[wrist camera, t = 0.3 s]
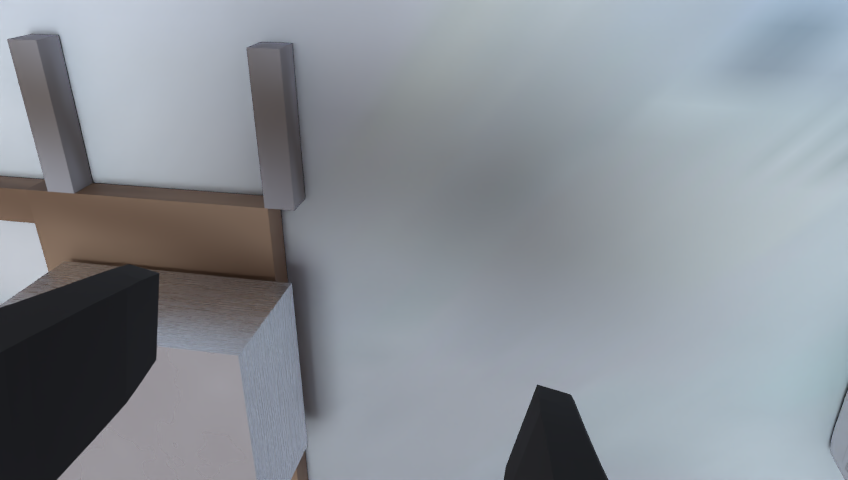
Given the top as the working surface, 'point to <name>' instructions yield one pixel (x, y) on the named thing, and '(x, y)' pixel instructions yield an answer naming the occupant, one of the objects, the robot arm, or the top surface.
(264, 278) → the board
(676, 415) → the top surface
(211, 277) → the housing
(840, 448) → the skincare box
